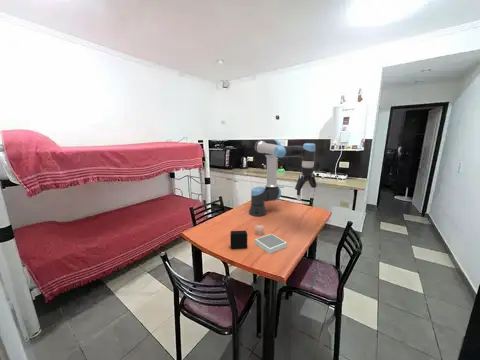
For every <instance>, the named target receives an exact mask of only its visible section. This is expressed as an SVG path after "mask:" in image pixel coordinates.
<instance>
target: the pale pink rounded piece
mask: <svg viewBox="0 0 480 360" xmlns="http://www.w3.org/2000/svg"><path fill="white" fill-rule="evenodd" d="M254 227H255V228H254V233H255V236H259V237H263V236H264V234H265V225H264V224H262V223H256V224H255V226H254Z"/></svg>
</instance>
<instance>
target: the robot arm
mask: <svg viewBox="0 0 480 360" xmlns="http://www.w3.org/2000/svg"><path fill="white" fill-rule="evenodd" d="M254 150H255V151H256V152H257V153H259V154H264V156H265V158H266V185H265V186H256V187H253V188H251V192H250V196H251V197H250V199H251V201H250V202H251V203H250V207H249V210H248V214H249V215H250V216H253V217H264V216H266V215H267V210H266V207H265V202H275V201H278V200H279V199H280V198H281V196H282V190H281V188H280V187H279V185H278V184H277V177H278V175H277V171H278V169H277V168H278V167H277V161H278V160H277V158H302V159H301V173H302V174H299V176H298V179H297V182H296V184H295V187H294V190H295V191H296V200H298V201H302V189H303V187H304V185H305V183H307V182H308V183H309V193H308V194H309V195H308V196H309V197H311V198H314V192H315V189H316V188H317V182H316V177H315V176H316V175H315V173H314V169H315V168H314V166H315V156H316V144H315V143H309V142H306V143H304V144H303V145H281V142H280V141H279V140H278V139H274V138H273V139H259V140H258V141H256V142H255V144H254Z"/></svg>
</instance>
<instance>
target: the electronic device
mask: <svg viewBox="0 0 480 360" xmlns="http://www.w3.org/2000/svg"><path fill="white" fill-rule="evenodd" d="M229 238H230V239H229V240H230V250H246V249H248V231H247V230H231V231H230V237H229Z"/></svg>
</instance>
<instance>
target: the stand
mask: <svg viewBox="0 0 480 360" xmlns="http://www.w3.org/2000/svg"><path fill="white" fill-rule="evenodd" d="M254 244H255V245H256V246H258V247H259V249H260V248H261V249H262V250H263V251H265V252H266V253H267V254H269V255H272V254H274V253H275V252H279V251H281V250H283V249H286V248H287V247H288V243H287V241H285V240H283V239H282V238H280V237H279V236H276V235H275V234H273V233H270V234H269V233H268V234H266V235H262V236H259V237H258V238H255V239H254Z"/></svg>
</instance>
